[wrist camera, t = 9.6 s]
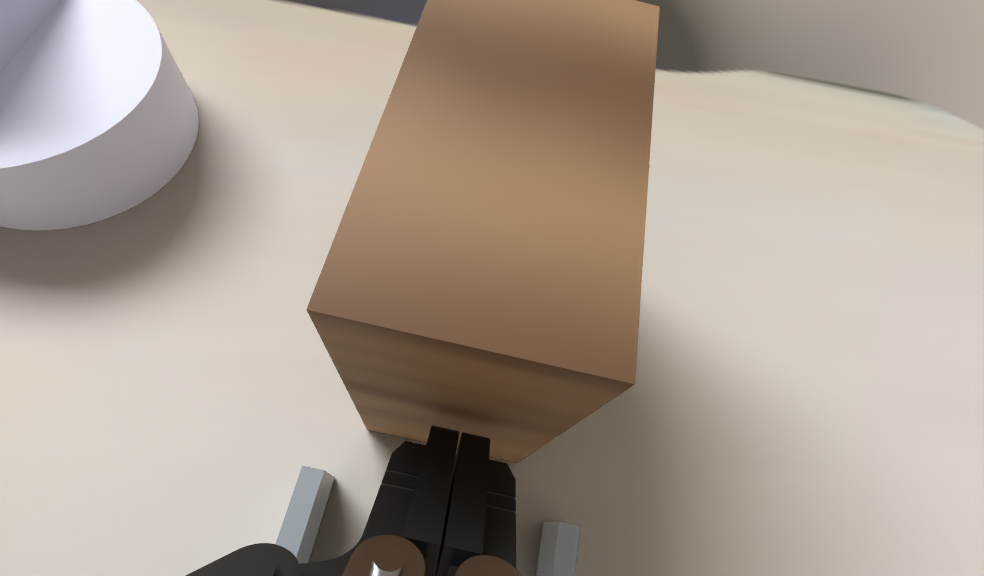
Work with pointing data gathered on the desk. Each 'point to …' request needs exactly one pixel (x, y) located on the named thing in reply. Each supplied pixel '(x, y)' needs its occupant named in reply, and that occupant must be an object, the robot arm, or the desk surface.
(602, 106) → the walnut block
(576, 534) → the grey open-top box
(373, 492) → the desk surface
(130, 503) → the desk surface
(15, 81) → the wedge on round base
